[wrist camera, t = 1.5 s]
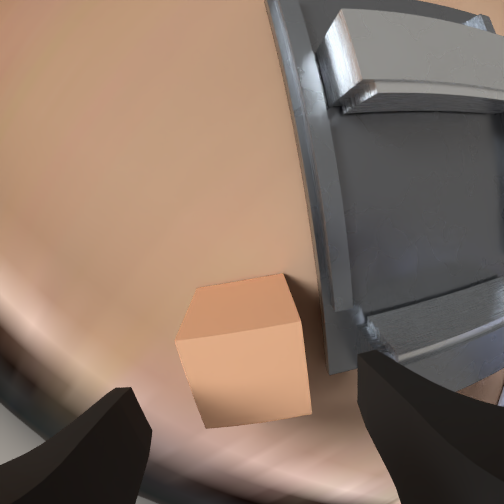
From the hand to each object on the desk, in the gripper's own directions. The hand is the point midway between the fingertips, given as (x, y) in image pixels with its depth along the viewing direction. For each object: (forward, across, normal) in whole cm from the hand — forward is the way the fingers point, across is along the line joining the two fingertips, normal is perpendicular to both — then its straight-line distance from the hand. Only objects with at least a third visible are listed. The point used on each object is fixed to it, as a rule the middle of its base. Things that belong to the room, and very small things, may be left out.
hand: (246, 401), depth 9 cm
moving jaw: (+5, -10, -10) cm, 15 cm away
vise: (+6, -10, -6) cm, 13 cm away
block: (+6, 0, 0) cm, 6 cm away
